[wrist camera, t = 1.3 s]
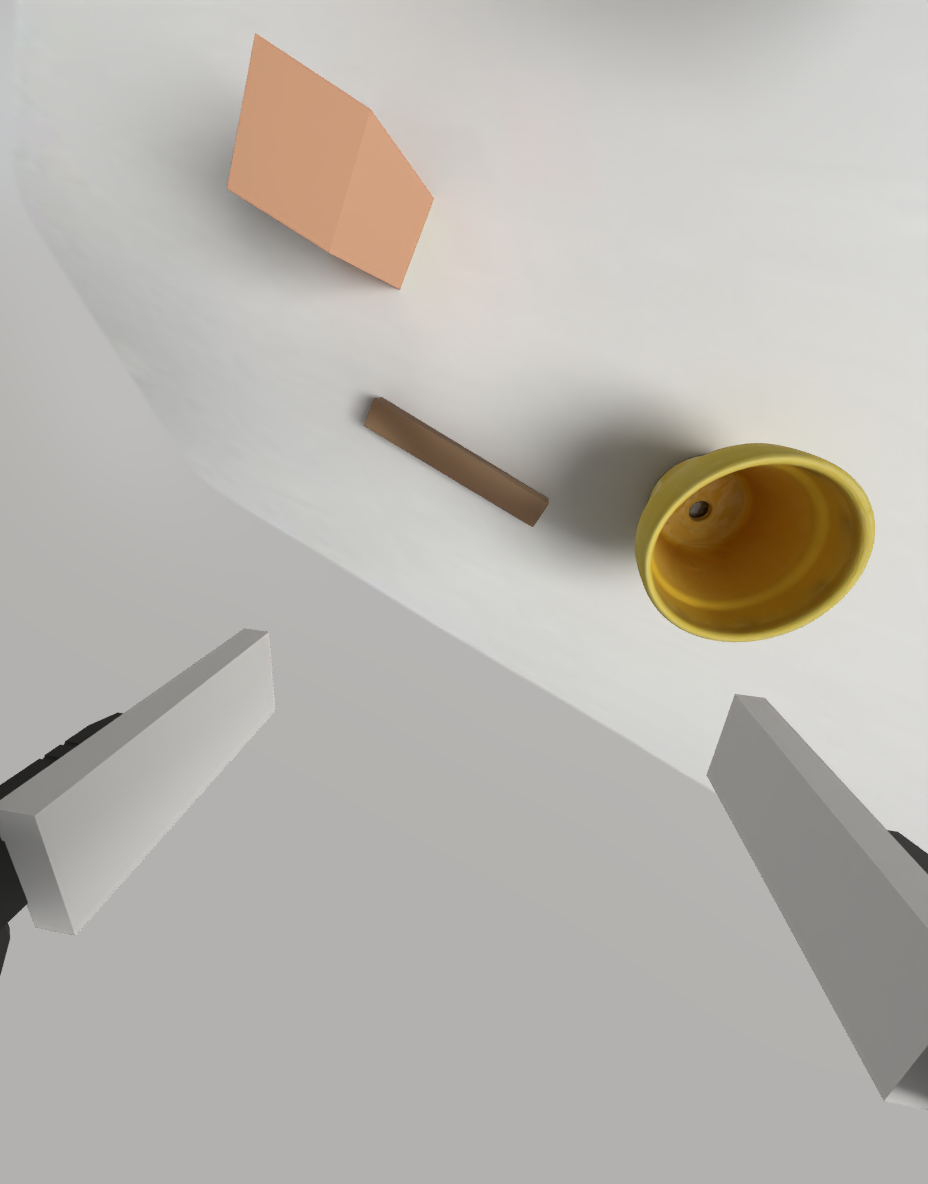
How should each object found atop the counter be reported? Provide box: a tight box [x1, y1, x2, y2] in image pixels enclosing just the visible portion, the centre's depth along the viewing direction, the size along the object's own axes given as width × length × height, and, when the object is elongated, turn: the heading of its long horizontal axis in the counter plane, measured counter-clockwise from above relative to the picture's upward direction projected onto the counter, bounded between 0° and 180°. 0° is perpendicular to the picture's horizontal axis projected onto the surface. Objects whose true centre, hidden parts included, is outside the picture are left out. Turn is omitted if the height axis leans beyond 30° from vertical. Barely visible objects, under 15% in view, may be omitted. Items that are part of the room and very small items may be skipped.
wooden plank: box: [364, 397, 549, 527], centre depth 32 cm, size 2×14×2 cm, turn 61°
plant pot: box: [635, 443, 875, 642], centre depth 26 cm, size 10×10×10 cm
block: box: [227, 33, 434, 289], centre depth 22 cm, size 5×5×10 cm
